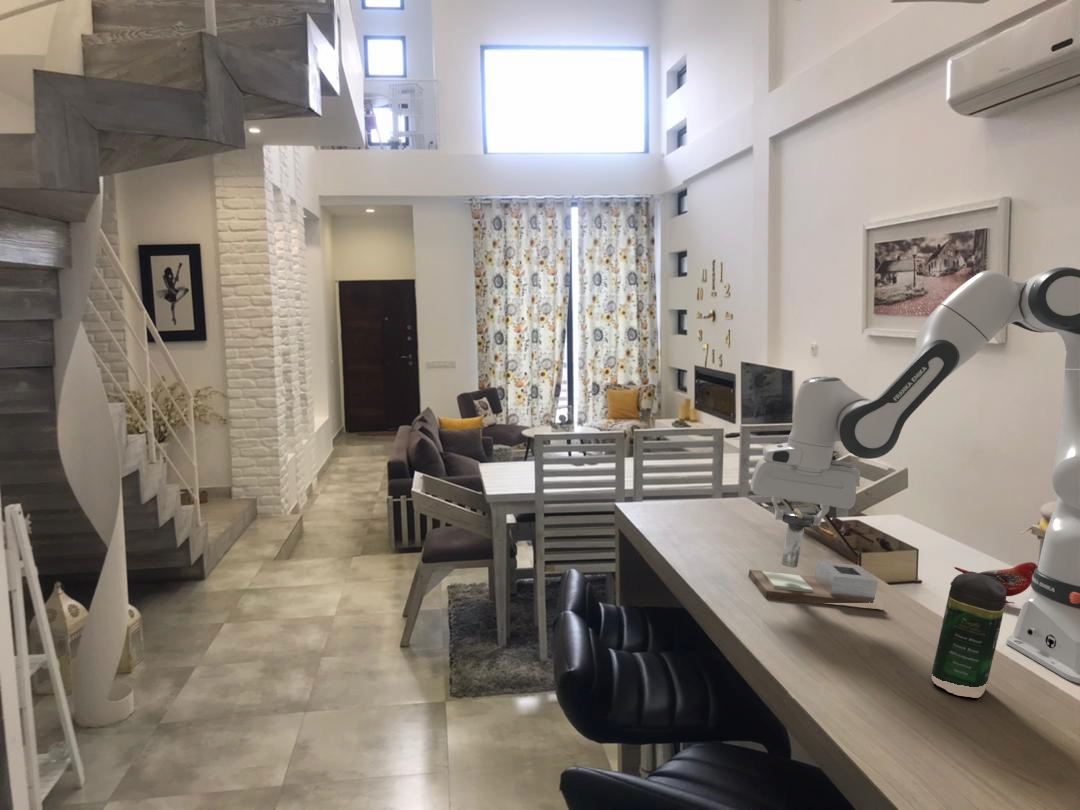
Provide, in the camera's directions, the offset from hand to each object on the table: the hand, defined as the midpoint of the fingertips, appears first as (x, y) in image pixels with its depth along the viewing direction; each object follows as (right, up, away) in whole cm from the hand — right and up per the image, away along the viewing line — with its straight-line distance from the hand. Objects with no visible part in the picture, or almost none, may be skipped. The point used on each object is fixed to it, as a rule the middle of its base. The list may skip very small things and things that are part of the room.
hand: (796, 522), depth 163 cm
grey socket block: (+10, -14, +2) cm, 18 cm away
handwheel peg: (-1, -9, +1) cm, 9 cm away
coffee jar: (+15, -22, -34) cm, 43 cm away
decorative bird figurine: (+46, -19, +11) cm, 51 cm away
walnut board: (+4, -15, +2) cm, 16 cm away
